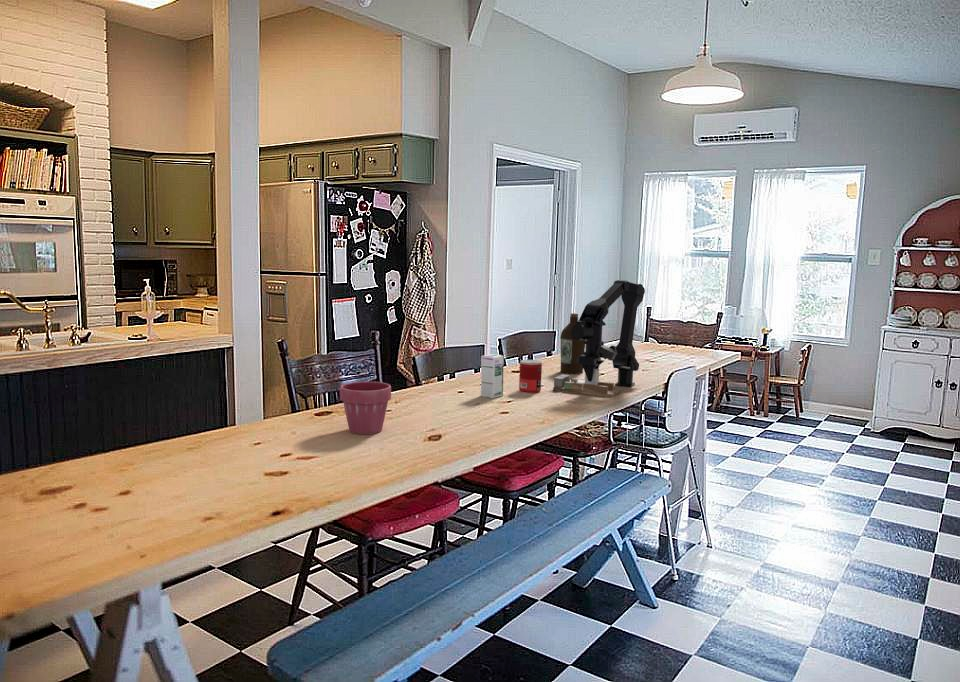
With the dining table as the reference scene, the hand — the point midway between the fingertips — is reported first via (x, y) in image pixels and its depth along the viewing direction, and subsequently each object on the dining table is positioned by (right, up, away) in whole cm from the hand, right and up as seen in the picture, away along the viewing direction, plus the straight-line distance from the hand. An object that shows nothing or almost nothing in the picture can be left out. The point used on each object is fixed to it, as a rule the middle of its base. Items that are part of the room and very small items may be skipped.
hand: (591, 380), depth 263 cm
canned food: (-23, -4, -1) cm, 23 cm away
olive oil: (-2, +1, +41) cm, 41 cm away
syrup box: (-37, -5, -11) cm, 39 cm away
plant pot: (-73, -11, -63) cm, 97 cm away
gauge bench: (-2, -4, +1) cm, 5 cm away
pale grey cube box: (-3, -3, 0) cm, 4 cm away
